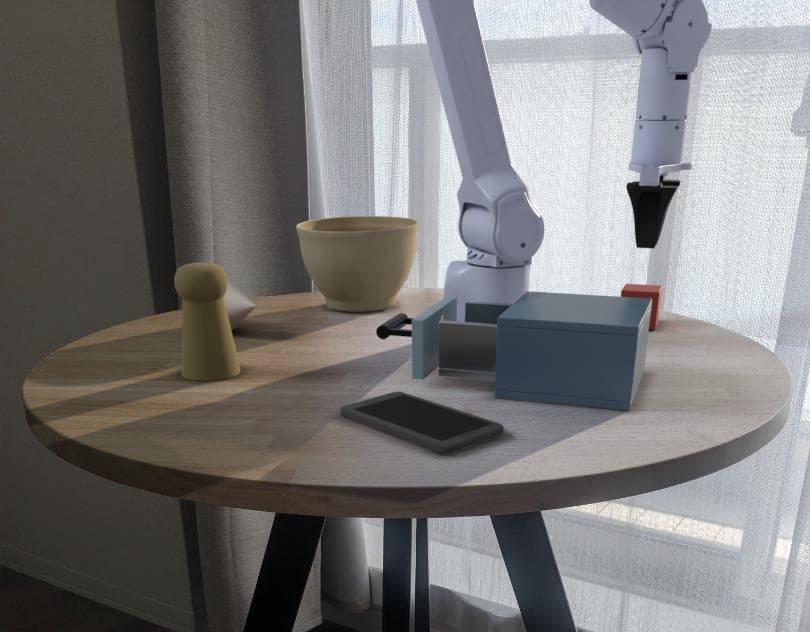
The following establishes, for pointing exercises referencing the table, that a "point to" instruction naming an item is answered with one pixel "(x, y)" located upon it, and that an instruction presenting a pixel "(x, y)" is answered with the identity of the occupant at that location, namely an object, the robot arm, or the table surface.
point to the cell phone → (422, 422)
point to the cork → (205, 323)
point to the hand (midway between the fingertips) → (646, 246)
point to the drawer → (451, 339)
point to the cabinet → (572, 349)
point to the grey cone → (237, 305)
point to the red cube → (646, 292)
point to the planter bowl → (359, 259)
